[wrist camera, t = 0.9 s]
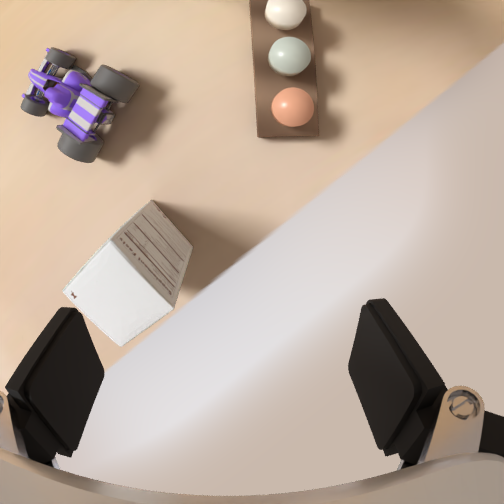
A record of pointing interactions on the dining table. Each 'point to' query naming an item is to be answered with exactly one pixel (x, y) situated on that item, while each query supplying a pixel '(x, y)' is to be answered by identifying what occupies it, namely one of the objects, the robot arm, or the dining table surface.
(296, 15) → the cream button
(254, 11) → the button plate
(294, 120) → the terracotta button
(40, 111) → the toy race car
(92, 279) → the supplement box
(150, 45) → the dining table surface
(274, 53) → the sage button
